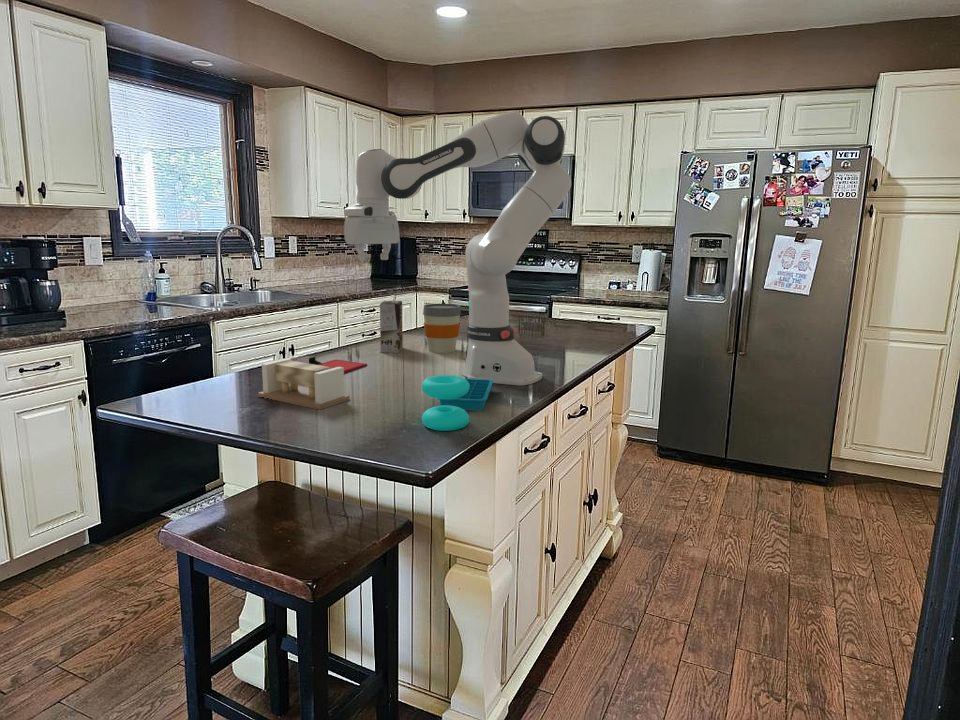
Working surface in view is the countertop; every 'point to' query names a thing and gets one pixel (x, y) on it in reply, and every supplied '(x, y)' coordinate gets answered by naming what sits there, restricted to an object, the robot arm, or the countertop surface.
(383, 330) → the coffee box
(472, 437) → the countertop surface
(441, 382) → the donuts
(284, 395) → the cradle
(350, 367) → the red board with handle
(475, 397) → the ice cube tray
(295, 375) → the tan wooden block
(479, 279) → the robot arm
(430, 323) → the reusable coffee cup
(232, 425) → the countertop surface
